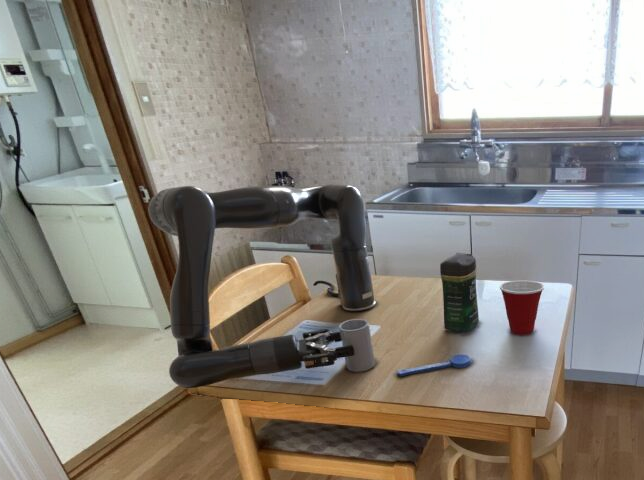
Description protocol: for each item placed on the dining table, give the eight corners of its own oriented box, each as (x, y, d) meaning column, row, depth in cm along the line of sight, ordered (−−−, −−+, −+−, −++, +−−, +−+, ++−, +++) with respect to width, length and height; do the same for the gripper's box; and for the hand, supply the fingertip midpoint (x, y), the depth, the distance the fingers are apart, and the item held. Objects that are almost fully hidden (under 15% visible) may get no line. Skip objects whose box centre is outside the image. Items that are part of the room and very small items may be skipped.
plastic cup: (548, 323, 133) (549, 278, 127) (538, 341, 124) (538, 293, 118) (507, 320, 136) (506, 275, 130) (495, 337, 127) (493, 290, 121)
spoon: (399, 379, 111) (398, 375, 110) (396, 370, 115) (395, 366, 114) (473, 365, 115) (473, 361, 114) (467, 357, 119) (467, 352, 118)
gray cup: (341, 366, 118) (332, 326, 113) (363, 356, 122) (356, 316, 117) (358, 374, 114) (350, 333, 109) (381, 363, 118) (374, 323, 113)
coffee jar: (469, 336, 128) (464, 263, 119) (440, 332, 131) (433, 260, 122) (483, 321, 136) (480, 251, 127) (456, 318, 139) (450, 249, 129)
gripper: (270, 353, 103) (352, 339, 107) (272, 326, 115) (346, 314, 119) (279, 385, 107) (358, 371, 111) (280, 356, 119) (352, 344, 122)
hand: (352, 342), depth 115 cm, fingers open, 8 cm apart
